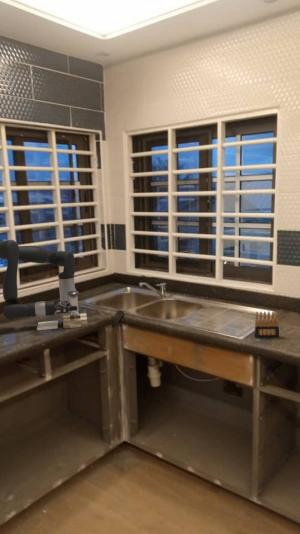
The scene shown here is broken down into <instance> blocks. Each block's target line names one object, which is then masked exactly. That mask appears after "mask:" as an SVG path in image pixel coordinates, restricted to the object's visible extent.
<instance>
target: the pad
mask: <svg viewBox="0 0 300 534" xmlns="http://www.w3.org/2000/svg"><path fill="white" fill-rule="evenodd" d="M58 328H59V321H58V320H52V321H51V320H49V321H39V322H38V323H37V327H36V330H37V331H45V330H57V329H58Z"/></svg>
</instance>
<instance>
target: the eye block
mask: <svg viewBox="0 0 300 534" xmlns="http://www.w3.org/2000/svg"><path fill="white" fill-rule="evenodd" d="M62 324H63V325H62V326H63V327H62V328H63V329H73V328H83V327H88V325H89V324H88V317H87V313H86V312H83V313H82V312H81V313H79V318H78V319H71V313H70V314H63V315H62Z"/></svg>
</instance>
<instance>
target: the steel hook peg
mask: <svg viewBox="0 0 300 534" xmlns="http://www.w3.org/2000/svg"><path fill="white" fill-rule="evenodd" d="M67 295H69V297H70V306H77V310H76V311H70V314H71V319H78V318H79V314H80V313H79V301H78V299H79V298H78V295H80V292H79V291H77V290H76V291H70V292H67Z"/></svg>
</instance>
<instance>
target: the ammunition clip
mask: <svg viewBox="0 0 300 534" xmlns="http://www.w3.org/2000/svg"><path fill="white" fill-rule="evenodd" d="M266 313H267V314H266ZM254 319H255V320H254V332H253V334H254V335H253V337H254V338H255V339H258V338H259V339H261V338H265V339H266V338H273V339H275V338H280V327H279V326H280V324H279V323H280V321H279V311H276V312H275V313H274V311H272V312H271V313H270V311H268V312H266V311H263V313H262V311H259V314H258V311H256V312H255V318H254Z"/></svg>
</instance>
